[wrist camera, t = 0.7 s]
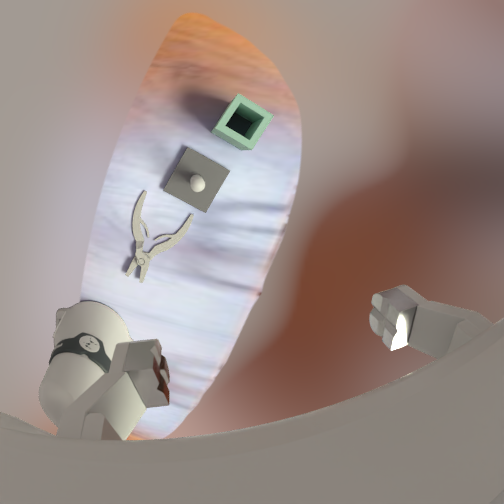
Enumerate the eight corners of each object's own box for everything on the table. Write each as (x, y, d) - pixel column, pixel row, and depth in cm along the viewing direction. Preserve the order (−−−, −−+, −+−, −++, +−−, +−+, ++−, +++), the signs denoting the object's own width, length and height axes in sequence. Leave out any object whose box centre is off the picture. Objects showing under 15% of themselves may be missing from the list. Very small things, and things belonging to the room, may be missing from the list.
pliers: (195, 217, 46) (158, 290, 49) (194, 215, 48) (159, 286, 51) (142, 190, 43) (109, 268, 46) (143, 189, 45) (111, 264, 47)
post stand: (205, 211, 48) (208, 222, 40) (163, 189, 45) (158, 196, 38) (229, 170, 46) (237, 174, 39) (187, 147, 43) (187, 145, 36)
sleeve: (241, 150, 46) (252, 149, 38) (210, 132, 43) (215, 128, 36) (260, 121, 44) (273, 115, 37) (230, 102, 42) (238, 93, 35)
